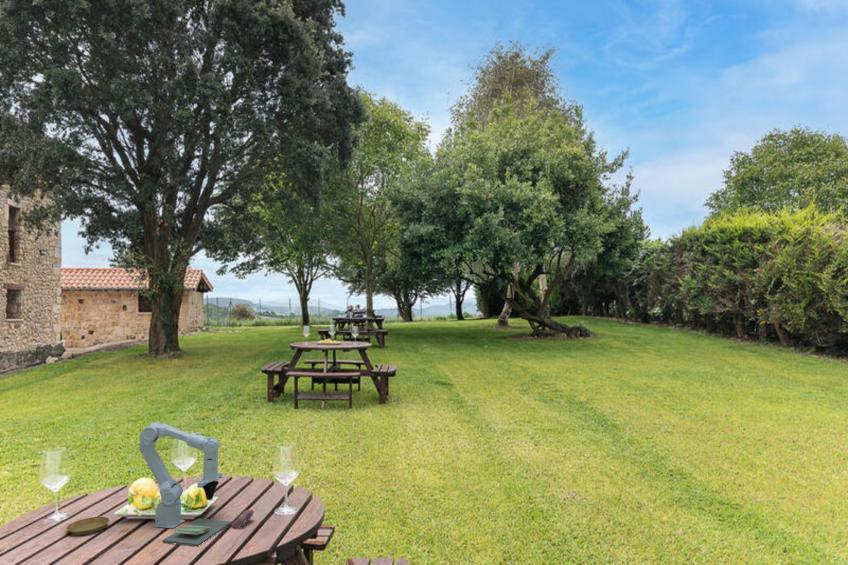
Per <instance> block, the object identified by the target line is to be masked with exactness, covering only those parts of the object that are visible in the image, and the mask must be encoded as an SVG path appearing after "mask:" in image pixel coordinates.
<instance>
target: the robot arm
mask: <svg viewBox="0 0 848 565" xmlns="http://www.w3.org/2000/svg"><path fill="white" fill-rule="evenodd" d="M138 437H139V452H140V454H141V455H142V457H143V459H144V461H145V462H146V464H147V466H148V468H149V470H150V471H151V473H152V475H153V477H154V479H155V480H156V483H157V484H158V486H159V488H158V489H159V490H158V491H159V494H160V500H161V502H159V503H158V504H157V506H156V508H155V517H154V518H155V519H154V521H155V522H154V524H153V527H154V528H162V529H163V528H164V529H165V528H166V529H174V528H176V527H177V526H180V525H182V524H183V523H184V522H186V520H185V519H182V518H181V514H182V513H181V512H182V499H181V496H182V495H183V492H184V489H183V486H182V485H181V484H179V483H178V482H177V480H176V479H174V478H173V477H172V476H171V475H170V472H169V470H168V469H167V467H166V465H165V463H164V461H163V460H162V458H161V456H160V455H159V453H158V450H157V448H156V447H155V446H156V443H157V441H158V439H160V438H162V439H163V438H166V437H169V438H173V439H175V440H180V441H183V442H184V443H186V445H187V446H188V447H191V448H193V449H196V450H199V451H202V452H203V453H204V457H203V469H202V470H203V471H202V472H203V474H202V475H203V476H202V477H203V478H202V479H201V480H200V481H198V482H197V486H196V487H197V488H198V489H203V491H204V494H205V498H206V501H212V500H213V498H214V495H215V491H216V489H217V488H218V487H217V486H218V485H219V480H220V479H222V478H223V472H218V469H219V468H218V467H219V466H218V465H219V448H220V444H221V443H220V441H219V440H218V439H217V438H216V437H211V436H205V435H202V434H200V432H198V431H197V432H192V433H187V432H185V431H183V430H181V429H178V428H176V427H173V426H171V425H169V424H167V423H164V422H160V421H154V422H151V424H148V425H146V426H145V427H144V428H142V430H141V432H140V434H139V436H138Z"/></svg>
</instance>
